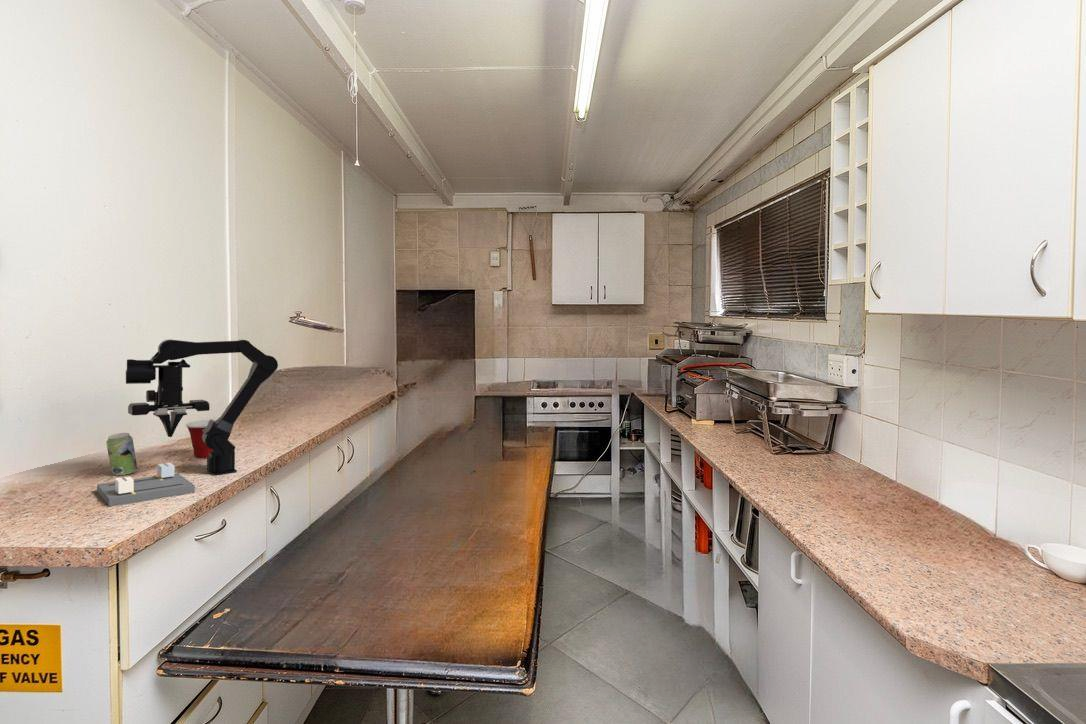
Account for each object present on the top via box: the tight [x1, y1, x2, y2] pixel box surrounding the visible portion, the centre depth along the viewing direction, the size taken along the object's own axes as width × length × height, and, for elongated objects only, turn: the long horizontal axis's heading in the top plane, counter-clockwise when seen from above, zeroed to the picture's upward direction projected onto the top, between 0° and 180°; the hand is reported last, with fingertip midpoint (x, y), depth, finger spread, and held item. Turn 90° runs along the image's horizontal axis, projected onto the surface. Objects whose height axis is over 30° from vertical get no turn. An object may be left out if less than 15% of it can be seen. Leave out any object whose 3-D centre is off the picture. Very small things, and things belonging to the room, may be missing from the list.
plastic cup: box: [185, 418, 218, 459], centre depth 182 cm, size 11×11×12 cm
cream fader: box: [114, 476, 134, 494], centre depth 135 cm, size 3×4×3 cm
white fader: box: [157, 462, 175, 478], centre depth 150 cm, size 3×4×3 cm
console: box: [96, 472, 196, 508], centre depth 142 cm, size 18×16×2 cm
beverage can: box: [105, 432, 138, 476], centre depth 157 cm, size 6×7×12 cm
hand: (169, 436), depth 156 cm, fingers closed
